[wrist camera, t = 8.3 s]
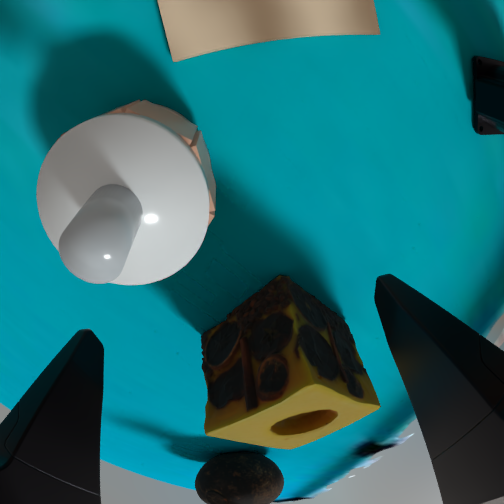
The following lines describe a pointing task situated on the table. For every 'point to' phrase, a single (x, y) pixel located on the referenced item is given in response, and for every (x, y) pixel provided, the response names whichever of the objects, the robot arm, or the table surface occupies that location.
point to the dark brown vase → (239, 479)
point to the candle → (283, 371)
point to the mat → (259, 22)
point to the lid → (123, 200)
